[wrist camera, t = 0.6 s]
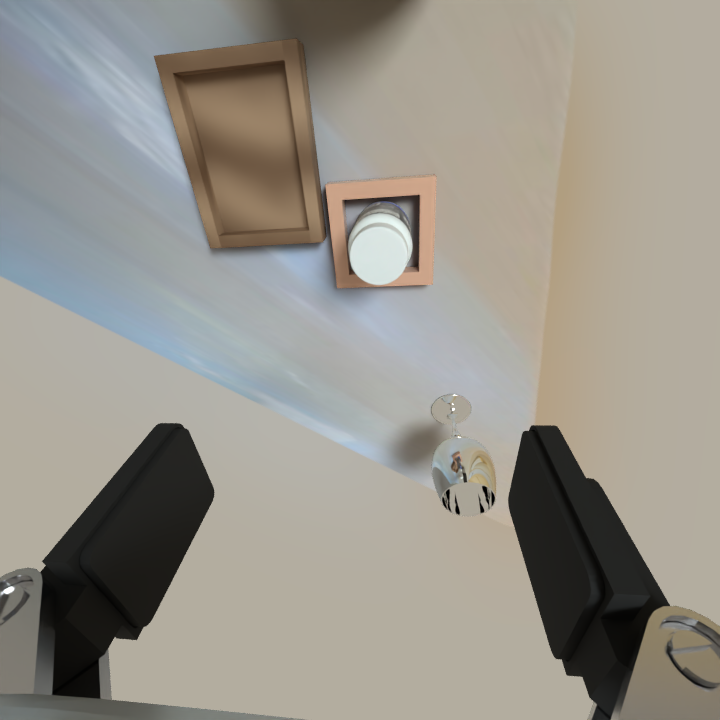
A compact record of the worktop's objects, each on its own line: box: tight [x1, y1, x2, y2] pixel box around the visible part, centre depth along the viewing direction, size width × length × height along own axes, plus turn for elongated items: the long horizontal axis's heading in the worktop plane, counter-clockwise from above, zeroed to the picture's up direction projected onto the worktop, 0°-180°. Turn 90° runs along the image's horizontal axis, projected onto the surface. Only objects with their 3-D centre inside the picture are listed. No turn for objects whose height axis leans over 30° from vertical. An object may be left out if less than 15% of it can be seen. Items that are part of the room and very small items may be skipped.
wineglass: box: [431, 394, 496, 516], centre depth 36 cm, size 6×6×12 cm
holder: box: [325, 174, 436, 288], centre depth 31 cm, size 9×9×2 cm
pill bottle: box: [348, 201, 413, 285], centre depth 28 cm, size 5×5×8 cm
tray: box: [154, 38, 327, 248], centre depth 28 cm, size 13×10×2 cm
